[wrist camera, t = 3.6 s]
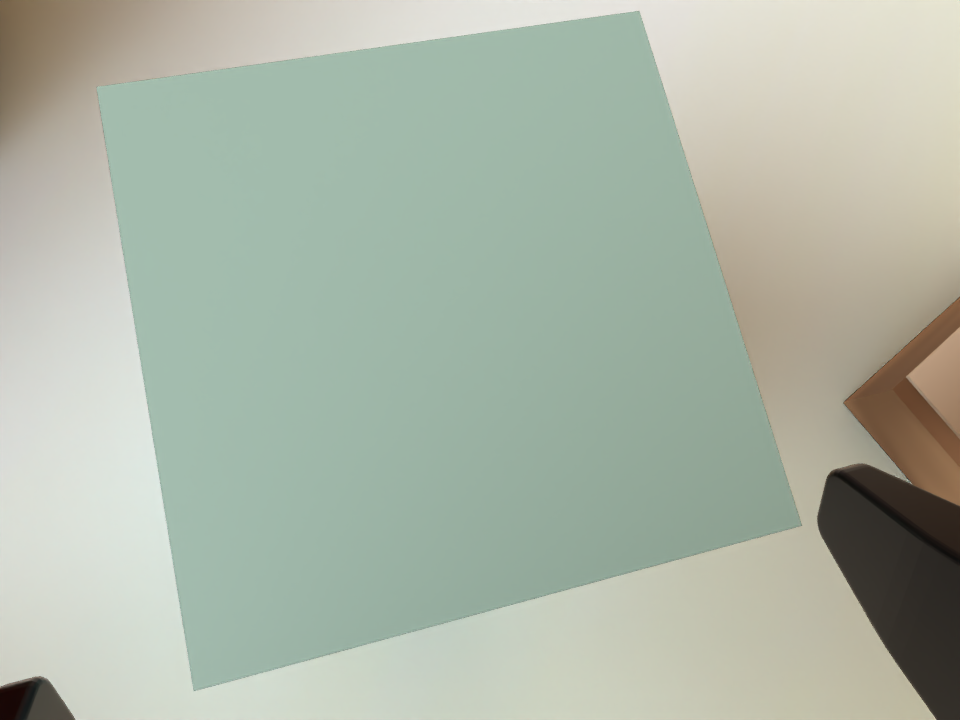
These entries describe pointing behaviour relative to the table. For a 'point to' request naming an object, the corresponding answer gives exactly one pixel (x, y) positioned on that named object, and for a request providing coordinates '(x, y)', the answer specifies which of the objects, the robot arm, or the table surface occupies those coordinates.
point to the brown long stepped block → (919, 407)
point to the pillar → (428, 336)
